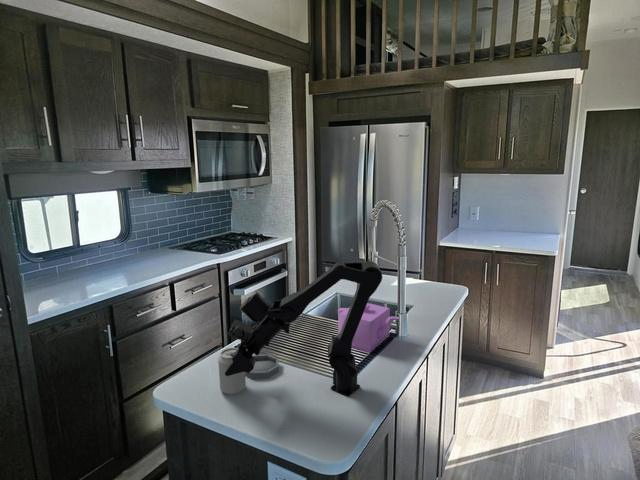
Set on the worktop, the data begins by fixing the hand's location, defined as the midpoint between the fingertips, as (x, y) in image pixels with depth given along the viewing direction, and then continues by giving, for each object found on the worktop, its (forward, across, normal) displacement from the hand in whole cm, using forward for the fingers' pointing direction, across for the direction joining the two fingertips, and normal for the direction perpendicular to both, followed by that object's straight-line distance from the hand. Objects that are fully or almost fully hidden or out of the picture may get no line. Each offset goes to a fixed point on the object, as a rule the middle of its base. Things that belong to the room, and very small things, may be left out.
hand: (229, 366), depth 124 cm
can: (+5, 0, +6) cm, 8 cm away
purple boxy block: (-26, -31, +36) cm, 54 cm away
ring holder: (0, -11, +10) cm, 15 cm away
